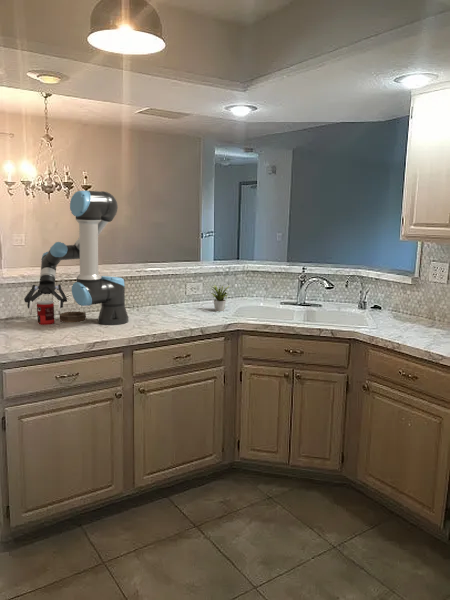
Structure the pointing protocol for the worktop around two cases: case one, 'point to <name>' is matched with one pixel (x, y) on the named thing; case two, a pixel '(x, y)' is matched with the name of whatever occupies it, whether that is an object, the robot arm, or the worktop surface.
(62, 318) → the walnut tray
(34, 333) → the worktop surface
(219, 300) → the house plant
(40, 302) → the canned food
